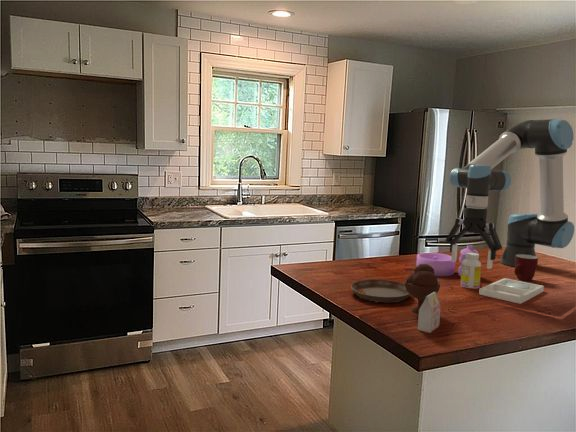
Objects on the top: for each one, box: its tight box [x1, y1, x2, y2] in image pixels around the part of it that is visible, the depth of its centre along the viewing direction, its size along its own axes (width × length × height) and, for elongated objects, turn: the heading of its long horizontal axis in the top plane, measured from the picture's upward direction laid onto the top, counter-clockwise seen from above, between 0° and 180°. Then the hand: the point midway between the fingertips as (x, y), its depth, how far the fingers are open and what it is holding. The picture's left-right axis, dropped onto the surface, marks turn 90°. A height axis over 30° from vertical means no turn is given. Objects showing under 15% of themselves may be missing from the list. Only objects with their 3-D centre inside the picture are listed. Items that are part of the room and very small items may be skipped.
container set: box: [415, 244, 479, 278], centre depth 205 cm, size 25×15×13 cm, turn 49°
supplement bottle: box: [460, 253, 482, 289], centre depth 185 cm, size 7×7×13 cm
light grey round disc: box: [506, 283, 530, 291], centre depth 181 cm, size 8×8×2 cm
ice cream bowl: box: [404, 264, 441, 315], centre depth 155 cm, size 11×11×15 cm
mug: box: [514, 254, 539, 282], centre depth 196 cm, size 10×8×10 cm
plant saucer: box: [350, 279, 411, 304], centre depth 172 cm, size 21×21×3 cm
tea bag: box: [417, 292, 441, 334], centre depth 142 cm, size 4×7×10 cm, turn 143°
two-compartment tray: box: [478, 277, 545, 305], centre depth 178 cm, size 22×14×3 cm, turn 135°
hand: (471, 264), depth 184 cm, fingers open, 13 cm apart
